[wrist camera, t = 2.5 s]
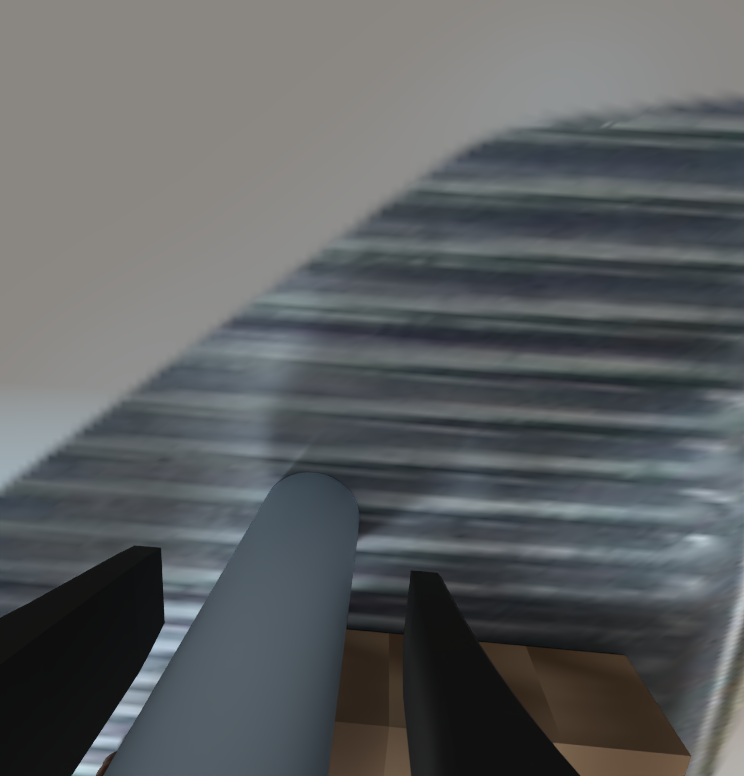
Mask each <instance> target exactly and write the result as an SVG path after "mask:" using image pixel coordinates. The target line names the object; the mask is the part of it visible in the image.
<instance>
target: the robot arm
mask: <svg viewBox="0 0 744 776" xmlns="http://www.w3.org/2000/svg"><path fill="white" fill-rule="evenodd" d="M164 623H165V621H164V601H163V580H162V560H161V548H156V547H145V546H133V547H131V548H129V549H127V550H125V551H123V552H121V553H119V554H117V555H115V556H113V557H111V558H110V559H108V560H106V561H104V562H102V563H100V564H99V565H97V566H95V567H93V568H91V569H90V570H88V571H86V572H84V573H83V574H81V575H79V576H77V577H75V578H74V579H72V580H70V581H68V582H66V583H64V584H63V585H61V586H59V587H57V588H55V589H54V590H52V591H50V592H48V593H46V594H45V595H43V596H41V597H39V598H37V599H35V600H34V601H32V602H30V603H28V604H26V605H24V606H22V607H20V608H19V609H17V610H15V611H13V612H11V613H9V614H7V615H5V616H3V617H1V618H0V776H72V774H73V773H74V771H75V769H76V768H77V766H78V765H79V763H80V762H81V760H82V759H83V757H84V756H85V754H86V753H87V751H88V750H89V748H90V747H91V745H92V744H93V742H94V741H95V739H96V738H97V736H98V735H99V733H100V732H101V730H102V729H103V727H104V726H105V724H106V723H107V721H108V719H109V718H110V716H111V715H112V713H113V712H114V710H115V709H116V707H117V706H118V704H119V703H120V701H121V700H122V698H123V697H124V695H125V693H126V692H127V690H128V689H129V687H130V686H131V684H132V683H133V681H134V680H135V678H136V676H137V675H138V673H139V672H140V670H141V668H142V666H143V664H144V662H145V661H146V659H147V657H148V655H149V653H150V651H151V649H152V647H153V645H154V643H155V641H156V639H157V637H158V635H159V633H160V631H161V629H162V627H163V625H164ZM403 700H404V711H405V721H406V731H407V741H408V750H409V760H410V770H411V776H580V774H579V773H578V772H577V771H576V770H575V769H574V768H573V766H572V765H571V764H570V763H569V762H568V761H567V759H566V758H565V757H564V756H563V755H562V754H561V753H560V751H559V750H558V749H557V748H556V747H555V745H554V744H553V743H552V742H551V740H550V739H549V738H548V737H547V736H546V734H545V733H544V732H543V731H542V729H541V728H540V727H539V726H538V725H537V723H536V722H535V721H534V719H533V718H532V717H531V716H530V714H529V713H528V712H527V710H526V709H525V708H524V706H523V705H522V704H521V702H520V701H519V700H518V698H517V697H516V696H515V694H514V693H513V692H512V690H511V689H510V687H509V686H508V685H507V683H506V682H505V680H504V679H503V678H502V676H501V675H500V673H499V672H498V671H497V669H496V668H495V666H494V665H493V663H492V662H491V660H490V659H489V657H488V656H487V654H486V653H485V651H484V650H483V648H482V646H481V645H480V643H479V642H478V640H477V639H476V637H475V636H474V634H473V632H472V631H471V629H470V628H469V626H468V624H467V623H466V621H465V619H464V618H463V616H462V614H461V612H460V611H459V609H458V607H457V605H456V604H455V602H454V600H453V598H452V596H451V595H450V593H449V591H448V589H447V587H446V585H445V583H444V581H443V579H442V577H441V576H440V575H439V574H438V573H433V572H422V571H411V574H410V583H409V592H408V601H407V610H406V619H405V628H404V637H403Z"/></svg>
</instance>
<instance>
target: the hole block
mask: <svg viewBox="0 0 744 776" xmlns="http://www.w3.org/2000/svg"><path fill="white" fill-rule="evenodd" d="M403 637H404V635H401V634H391V633H380V632H369V631H358V630H348V629H346V635H345V643H344V651H343V659H342V667H341V676H340V684H339V692H338V700H337V708H336V716H335V724H334V732H333V740H332V749H331V757H330V765H329V773H328V776H411V770H410V760H409V750H408V741H407V731H406V721H405V711H404V700H403ZM479 643H480V645H481V646H482V648H483V650H484V651H485V653H486V654H487V656H488V657H489V659H490V660H491V662H492V663H493V665H494V666H495V668H496V669H497V671H498V672H499V673H500V675H501V676H502V678H503V679H504V680H505V682H506V683H507V685H508V686H509V687H510V689H511V690H512V692H513V693H514V694H515V696H516V697H517V698H518V700H519V701H520V702H521V704H522V705H523V706H524V708H525V709H526V710H527V712H528V713H529V714H530V716H531V717H532V718H533V719H534V721H535V722H536V723H537V725H538V726H539V727H540V728H541V729H542V731H543V732H544V733H545V734H546V736H547V737H548V738H549V739H550V740H551V742H552V743H553V744H554V745H555V747H556V748H557V749H558V750H559V751H560V753H561V754H562V755H563V756H564V757H565V758H566V759H567V761H568V762H569V763H570V764H571V765H572V766H573V768H574V769H575V770H576V771H577V772H578V773H579V774H580V776H685V774H686V771H687V768H688V765H689V762H690V759H691V755H690V753H689V752H688V750H687V749H686V747H685V746H684V744H683V743H682V741H681V740H680V738H679V737H678V735H677V733H676V732H675V730H674V729H673V727H672V726H671V724H670V723H669V721H668V720H667V718H666V717H665V715H664V713H663V712H662V710H661V709H660V707H659V706H658V704H657V703H656V701H655V700H654V698H653V697H652V695H651V693H650V692H649V690H648V689H647V687H646V686H645V684H644V683H643V681H642V680H641V678H640V677H639V675H638V674H637V672H636V670H635V669H634V667H633V666H632V664H631V663H630V661H629V660H628V658H627V657H626V655H616V654H605V653H594V652H583V651H573V650H562V649H551V648H541V647H530V646H519V645H508V644H498V643H487V642H479Z"/></svg>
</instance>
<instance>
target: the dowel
mask: <svg viewBox="0 0 744 776" xmlns="http://www.w3.org/2000/svg"><path fill="white" fill-rule="evenodd" d="M359 521H360V515H359V509H358V506H357V503H356V501H355V498H354V497H353V495H352V494H351V492H350V491H349V490H348V489H347V488H346V487H345V486H344V485H343V484H342V483H340V482H339V481H338V480H336V479H334V478H332V477H330V476H327V475H324V474H321V473H315V472H303V473H297V474H293V475H290V476H288V477H286V478H284V479H282V480H281V481H279V482H278V483H277V484H276V485H275V486H274V487H273V488H272V489H271V491H270V492H269V494H268V495H267V497H266V499H265V501H264V502H263V504H262V506H261V507H260V509H259V511H258V512H257V514H256V516H255V518H254V519H253V521H252V523H251V524H250V526H249V528H248V530H247V531H246V533H245V535H244V536H243V538H242V540H241V541H240V543H239V545H238V547H237V548H236V550H235V552H234V553H233V555H232V557H231V558H230V560H229V562H228V564H227V565H226V567H225V569H224V570H223V572H222V574H221V576H220V577H219V579H218V581H217V582H216V584H215V586H214V587H213V589H212V591H211V593H210V594H209V596H208V598H207V599H206V601H205V603H204V605H203V606H202V608H201V610H200V611H199V613H198V615H197V616H196V618H195V620H194V622H193V623H192V625H191V627H190V628H189V630H188V632H187V634H186V635H185V637H184V639H183V640H182V642H181V644H180V645H179V647H178V649H177V651H176V652H175V654H174V656H173V657H172V659H171V661H170V662H169V664H168V666H167V668H166V669H165V671H164V673H163V674H162V676H161V678H160V680H159V681H158V683H157V685H156V686H155V688H154V690H153V691H152V693H151V695H150V697H149V698H148V700H147V702H146V703H145V705H144V707H143V709H142V710H141V712H140V714H139V715H138V717H137V719H136V720H135V722H134V724H133V726H132V727H131V729H130V731H129V732H128V734H127V736H126V737H125V739H124V741H123V743H122V744H121V746H120V748H119V749H118V751H117V753H116V755H115V756H114V758H113V760H112V761H111V763H110V765H109V766H108V768H107V770H106V772H105V773H104V775H103V776H328V773H329V765H330V757H331V749H332V740H333V732H334V724H335V716H336V708H337V700H338V692H339V684H340V676H341V667H342V659H343V651H344V643H345V635H346V627H347V619H348V611H349V602H350V594H351V586H352V578H353V570H354V562H355V554H356V546H357V538H358V529H359Z"/></svg>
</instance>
